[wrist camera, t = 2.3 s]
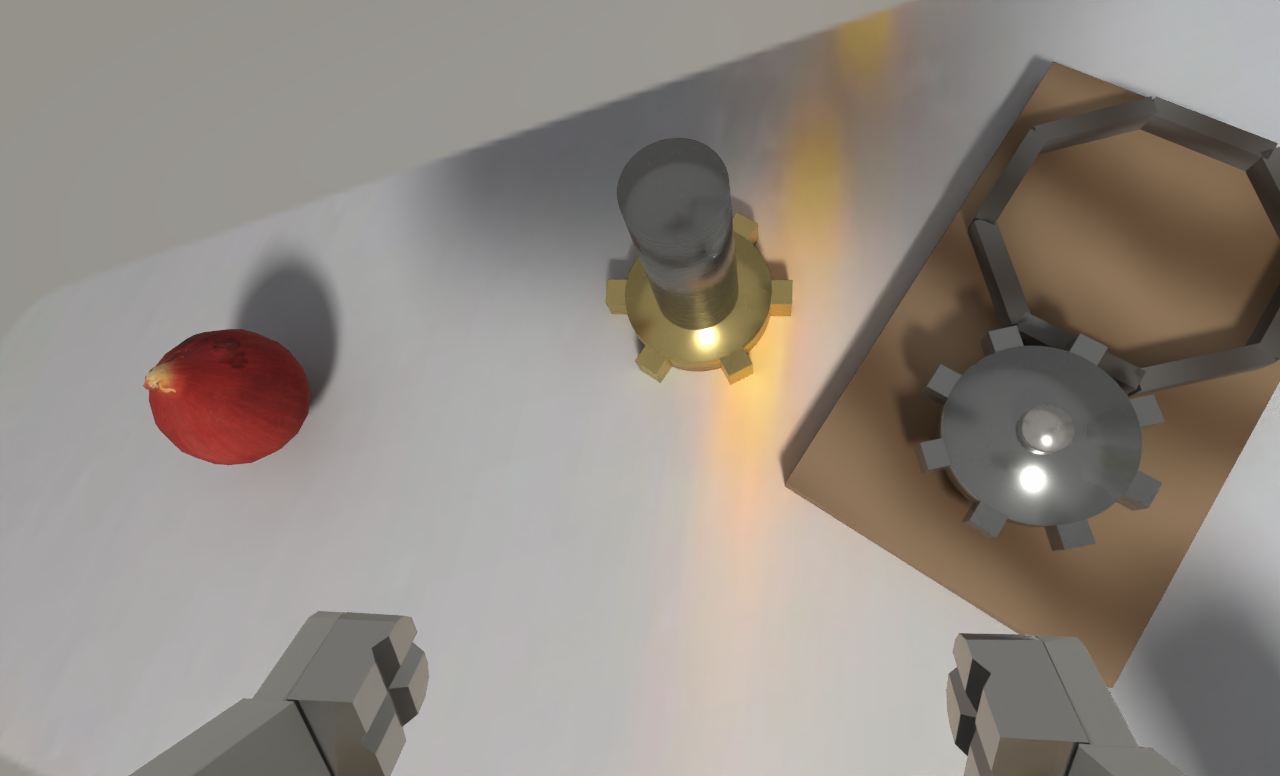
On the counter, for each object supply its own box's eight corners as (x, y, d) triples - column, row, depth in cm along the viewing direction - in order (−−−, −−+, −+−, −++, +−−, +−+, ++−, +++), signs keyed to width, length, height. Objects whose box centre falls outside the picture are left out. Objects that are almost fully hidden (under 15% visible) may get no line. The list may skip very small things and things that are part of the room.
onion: (242, 364, 35) (97, 306, 28) (347, 352, 34) (228, 288, 27) (230, 480, 34) (74, 452, 26) (341, 469, 33) (212, 437, 25)
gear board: (1043, 80, 32) (1062, 45, 30) (1359, 205, 28) (1406, 175, 26) (785, 486, 29) (786, 479, 27) (1096, 683, 25) (1126, 692, 23)
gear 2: (970, 310, 28) (994, 278, 25) (1172, 412, 26) (1226, 391, 23) (868, 474, 28) (881, 462, 24) (1069, 595, 25) (1110, 598, 22)
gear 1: (680, 197, 33) (646, 47, 24) (820, 271, 31) (844, 137, 22) (584, 335, 32) (508, 235, 23) (722, 421, 30) (701, 348, 21)
